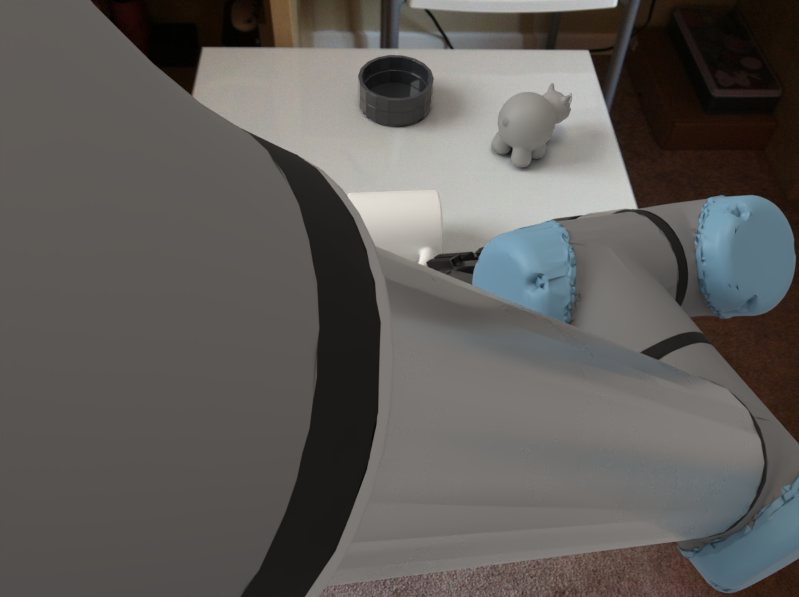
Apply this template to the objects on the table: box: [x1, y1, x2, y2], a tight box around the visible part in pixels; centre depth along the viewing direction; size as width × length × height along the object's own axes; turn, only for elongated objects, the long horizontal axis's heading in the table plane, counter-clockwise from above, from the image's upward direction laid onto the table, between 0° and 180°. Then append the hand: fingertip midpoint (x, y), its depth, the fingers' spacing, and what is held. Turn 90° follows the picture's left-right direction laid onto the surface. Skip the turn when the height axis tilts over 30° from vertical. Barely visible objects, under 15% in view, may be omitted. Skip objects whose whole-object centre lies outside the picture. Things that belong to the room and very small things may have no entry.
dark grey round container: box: [357, 54, 435, 128], centre depth 100 cm, size 10×10×4 cm
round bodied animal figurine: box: [490, 82, 573, 168], centre depth 95 cm, size 7×12×8 cm, turn 127°
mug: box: [346, 189, 444, 267], centre depth 81 cm, size 12×10×8 cm
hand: (437, 269), depth 78 cm, fingers closed
